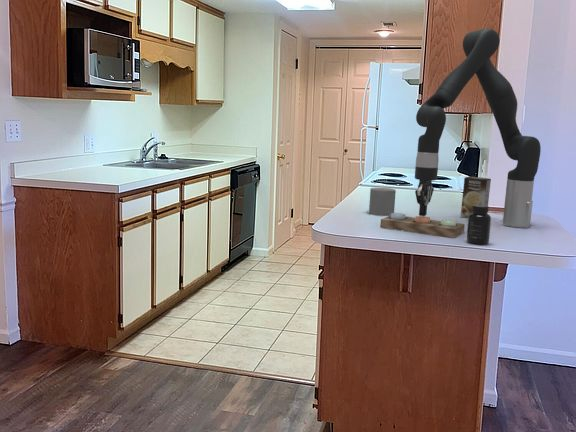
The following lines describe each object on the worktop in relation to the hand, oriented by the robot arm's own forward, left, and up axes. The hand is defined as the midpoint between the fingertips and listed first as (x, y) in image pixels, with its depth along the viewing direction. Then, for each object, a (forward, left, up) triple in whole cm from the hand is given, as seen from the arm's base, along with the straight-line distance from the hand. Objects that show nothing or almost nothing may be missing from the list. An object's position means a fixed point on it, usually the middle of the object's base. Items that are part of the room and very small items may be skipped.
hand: (422, 215), depth 200 cm
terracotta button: (0, 0, -4) cm, 4 cm away
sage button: (-9, 0, -4) cm, 10 cm away
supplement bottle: (-21, +8, -5) cm, 23 cm away
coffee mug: (+25, -23, -5) cm, 34 cm away
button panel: (0, 0, -5) cm, 5 cm away
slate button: (+9, 0, -4) cm, 10 cm away
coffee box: (-8, -39, -5) cm, 40 cm away
